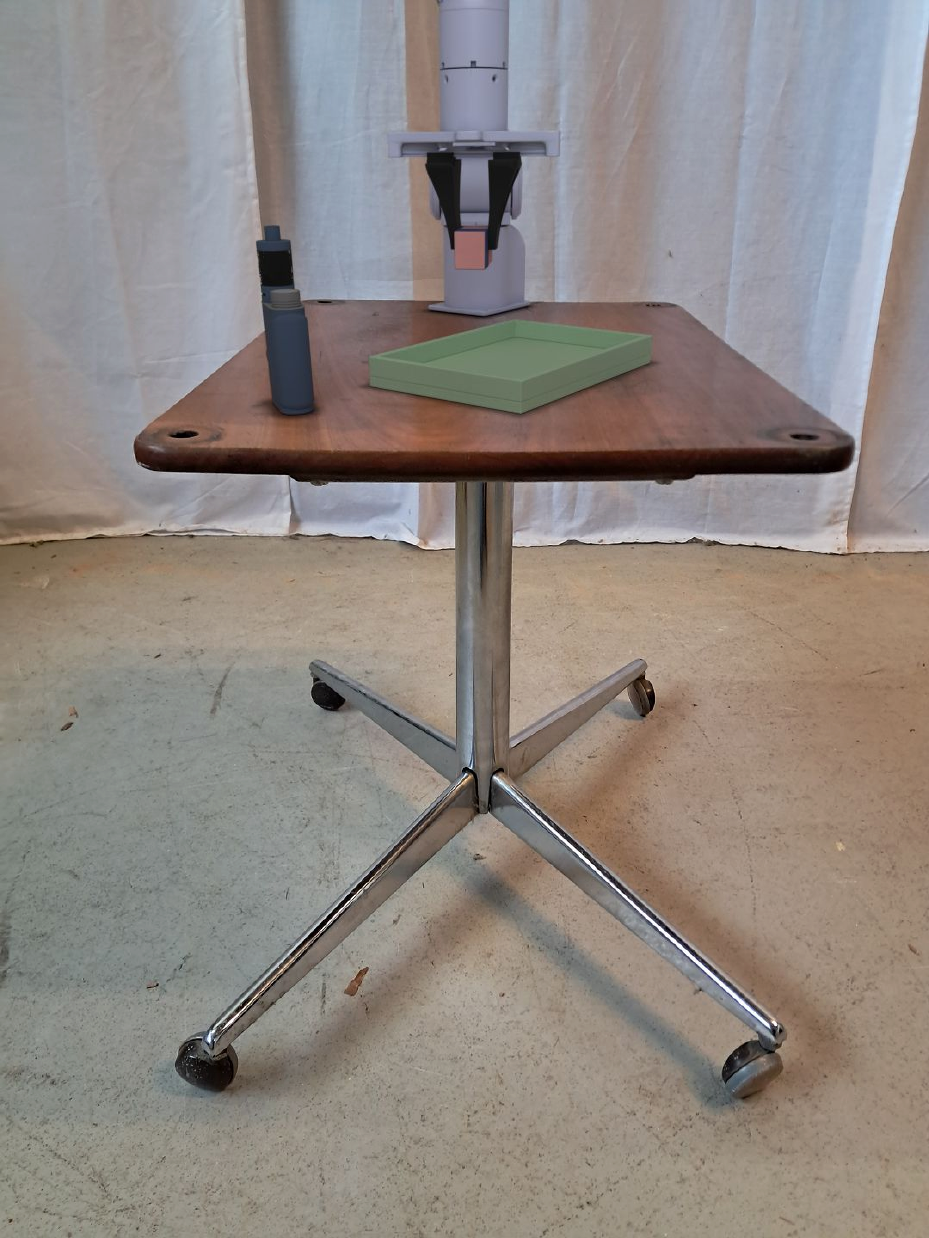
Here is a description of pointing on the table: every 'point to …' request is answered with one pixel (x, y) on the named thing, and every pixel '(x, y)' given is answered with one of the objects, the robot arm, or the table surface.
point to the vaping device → (284, 326)
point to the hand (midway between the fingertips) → (474, 249)
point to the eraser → (472, 248)
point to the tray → (510, 364)
